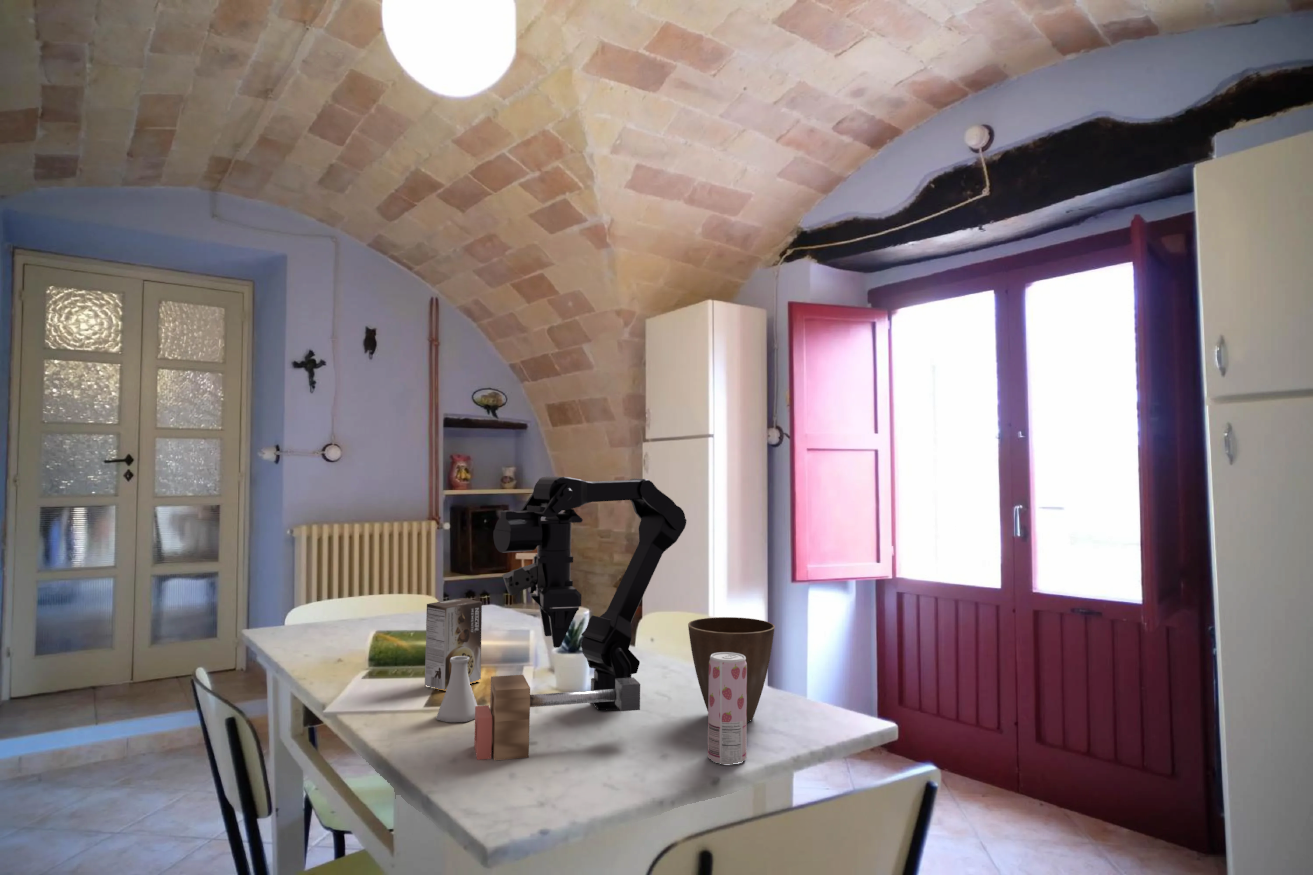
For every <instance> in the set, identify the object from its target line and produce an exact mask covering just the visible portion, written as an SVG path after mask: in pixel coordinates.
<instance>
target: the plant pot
mask: <svg viewBox="0 0 1313 875" xmlns="http://www.w3.org/2000/svg"><path fill="white" fill-rule="evenodd" d="M687 625H688V636H689V643H690V650H691V655H692V661H693V665H694V669H695V674H696V678H697V681H698V685H699V689H700V692H701V695H702V699H703V702H704V704H705V707H706V711H707V712H708V693H709V661H710V656H711V654H714V653H719V652H733V653H739V654H742V655H744V656H745V657H746V663H747V723H749V722H748V721H750V720H751V721H752V720H754V716H755V714H756V711H757V708H758V705H759V702H760V699H761V696H762V693H763V689H764V686H765V683H766V679H767V674H768V670H769V666H770V660H771V655H772V650H773V642H774V635H775V627H776V626H775V624H774V623H771V622H769V621H766V620H761V619H757V618H750V617H736V616H735V617H734V616H733V617H732V616H731V617H727V616H726V617H725V616H722V617H706V618H699V619H694V620H692V621H689V622H688V624H687ZM751 721H750V722H751Z"/></svg>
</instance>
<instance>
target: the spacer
mask: <svg viewBox="0 0 1313 875" xmlns="http://www.w3.org/2000/svg"><path fill="white" fill-rule="evenodd" d="M473 743H474V745H473V746H474V751H475V756H476V757H475V758H476V760H478V761H479V760H488V759H489V760H491V759H492V751H491V746H492V715H491V711H490V704H489V705H488V704H487V705H478V706H475V719H474V742H473Z"/></svg>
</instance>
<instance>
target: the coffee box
mask: <svg viewBox="0 0 1313 875" xmlns="http://www.w3.org/2000/svg"><path fill="white" fill-rule="evenodd" d="M482 605H483V602H482V601H481V600H480V601H479V600H475V599H472V598H466V597H465V598H464V597H461V598H454V599H449V600H440V601H436V602H431V603H426V619H425V620H426V622H425V623H426V625H425V626H426V627H425V628H426V630H425V631H426V632H425V661H424V664H425V667H424V668H425V669H424V686H425V685H427V686H430V687H435V688H438V689H444V690H445V689H447V687H448V684H449V680H450V675H451V667H452V664H451V662H450V658H451V657H455V656H466V657H469V661H468V663H467V670H468V677H469V681H470V682H473V681H476V680H479V679H481V678H482V677H481V676H482V670H481V669H482V623H483V622H482V613H483V612H482V611H483V610H482V608H483V607H482ZM481 680H482V679H481Z"/></svg>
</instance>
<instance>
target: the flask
mask: <svg viewBox="0 0 1313 875" xmlns="http://www.w3.org/2000/svg"><path fill="white" fill-rule="evenodd" d="M468 661H469V657H466V656H455V657H451V658H450V662H451V664H452V667H451V675H450V680H449V684H448V687H447V690H446V692H444V695H443V698H442V701H441V704H440V706H439V709H438V711H437V713H436V714H437V715H436V718H435V720H438V721H441V722H446V723H466V722H469V721H472V720H475V706H479V705H478V704H477V700H476V697H475V695H474V692H473V688H472V686H471V685H470V681H469V677H468V670H467V663H468Z"/></svg>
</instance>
